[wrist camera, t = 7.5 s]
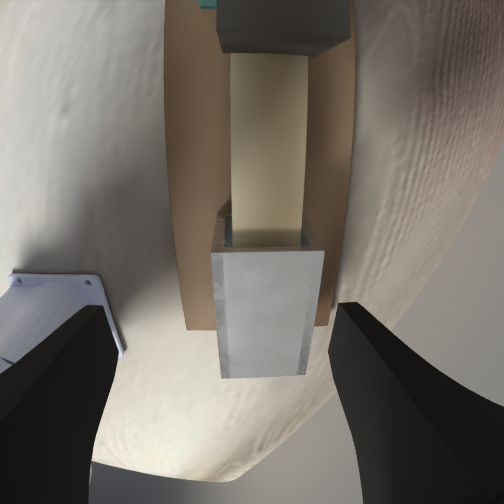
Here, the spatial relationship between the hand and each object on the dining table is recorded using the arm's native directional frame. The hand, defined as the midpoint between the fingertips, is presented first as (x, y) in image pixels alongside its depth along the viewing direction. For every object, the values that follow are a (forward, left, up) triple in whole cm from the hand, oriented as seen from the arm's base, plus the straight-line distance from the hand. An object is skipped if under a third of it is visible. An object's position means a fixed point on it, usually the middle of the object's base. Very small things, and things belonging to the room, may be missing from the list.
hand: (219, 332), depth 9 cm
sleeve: (+2, -4, -9) cm, 10 cm away
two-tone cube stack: (+2, +7, -8) cm, 11 cm away
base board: (+2, +3, -10) cm, 11 cm away
